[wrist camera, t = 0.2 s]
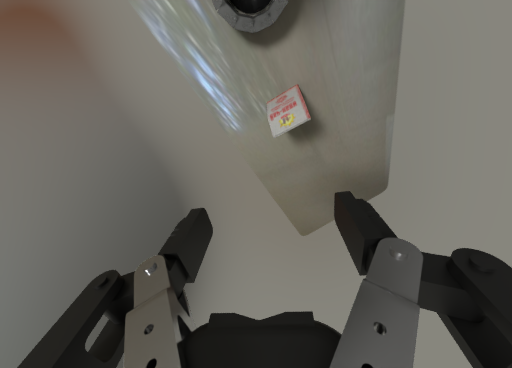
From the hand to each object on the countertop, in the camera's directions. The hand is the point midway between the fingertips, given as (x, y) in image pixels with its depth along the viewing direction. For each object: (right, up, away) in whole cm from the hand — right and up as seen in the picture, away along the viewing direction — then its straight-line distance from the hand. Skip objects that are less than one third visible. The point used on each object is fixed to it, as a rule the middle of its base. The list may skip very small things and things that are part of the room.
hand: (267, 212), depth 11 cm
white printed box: (+5, +19, +26) cm, 32 cm away
